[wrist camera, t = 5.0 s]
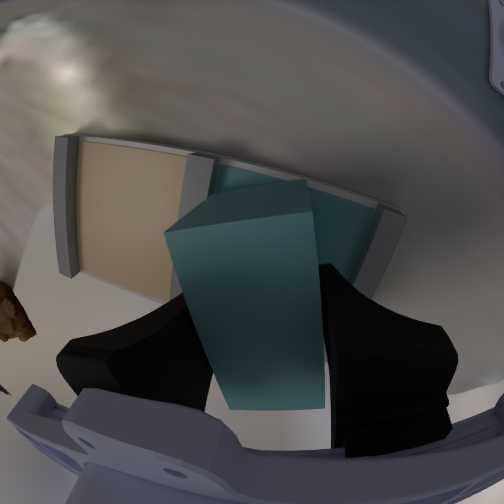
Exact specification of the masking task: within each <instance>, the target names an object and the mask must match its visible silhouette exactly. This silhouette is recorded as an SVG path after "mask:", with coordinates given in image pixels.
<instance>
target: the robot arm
mask: <svg viewBox="0 0 504 504" xmlns="http://www.w3.org/2000/svg"><path fill="white" fill-rule="evenodd" d="M488 3H489V15H490V67H489V81H490V84H491V85H492V87H493V88H494V89H496V90H497V91H498V92H499V93H501V94H502V95H503V96H504V1H502V0H488ZM501 84H502V86H503V88H502V86H501ZM318 269H319V280H320V293H321V306H322V322H323V338H324V344H325V349H326V355H327V360H328V366H329V374H330V398H331V449H321V450H300V451H268V450H267V451H266V450H256V449H251V448H245V447H242V446H241V444H240V442H239V440H238V438H237V436H236V435H235V434H234V433H233V432H232V430H230V429H229V428H228V427H227V426H226V425H225V424H224V423H223V422H222V421H221V420H219V419H217V418H215V417H213V416H211V415H209V414H207V413H205V406H206V401H207V396H208V392H209V387H210V383H211V379H212V375H213V370H212V368H211V366H210V363H209V361H208V358H207V356H206V353H205V351H204V348H203V346H202V343H201V341H200V338H199V336H198V333H197V331H196V328H195V325H194V323H193V320H192V317H191V315H190V312H189V309H188V306H187V304H186V301H185V298H184V295H183V292H182V293H181V294H179V295H178V296H176V297H175V298H173V299H172V300H170V301H169V302H167V303H166V304H164V305H162V306H161V307H159V308H158V309H156V310H154V311H152V312H150V313H149V314H147V315H145V316H143V317H141V318H139V319H136V320H134V321H132V322H129V323H127V324H125V325H122V326H120V327H117V328H114V329H111V330H108V331H105V332H102V333H98V334H94V335H90V336H85V337H80V338H75V339H72V340H70V341H69V342H68V343H67V345H66V346H65V347H64V348H63V349H62V350H61V352H60V353H59V354H58V355H57V357H56V362H57V367H58V369H59V371H60V373H61V374H62V376H63V377H64V379H65V380H66V382H67V383H68V384H69V386H70V387H71V388H72V389H73V391H74V392H75V393H76V394H77V396H78V397H77V398H76V400H75V401H74V403H73V404H72V406H71V407H70V409H69V408H67V407H64V406H62V405H60V404H58V403H57V402H56V400H55V399H54V398H53V397H52V395H51V394H50V393H49V392H47V391H46V390H45V389H43V388H41V387H38V386H36V385H34V384H32V385H31V386H30V388H29V389H28V390H27V391H26V393H25V394H24V395H23V397H22V398H21V399H20V401H19V402H18V403H17V405H16V406H15V407H14V408H13V410H12V411H11V412H10V414H9V415H8V416H7V420H8V421H9V422H10V423H11V424H12V425H13V426H14V427H15V428H16V429H17V430H18V431H19V432H20V433H21V434H22V435H23V436H24V437H25V438H26V439H27V440H28V441H29V442H31V443H32V444H33V445H34V446H35V447H36V448H37V449H38V450H40V451H41V452H42V453H44V454H45V455H46V456H48V457H49V458H51V459H52V460H54V461H55V462H57V463H58V464H60V465H61V466H63V467H64V468H66V469H67V470H69V471H71V472H72V473H74V474H76V475H77V476H79V478H78V480H77V482H76V484H75V485H74V488H73V489H72V491H71V493H70V495H69V497H68V499H67V501H66V503H65V504H455V503H457V502H459V501H462V500H464V499H466V498H468V497H470V496H472V495H474V494H476V493H478V492H480V491H482V490H484V489H486V488H488V487H490V486H492V485H493V484H495V483H497V482H499V481H500V480H502V479H504V394H503V395H502V396H501V397H500V398H499V400H498V402H497V403H496V405H495V407H494V408H492V409H489V410H487V411H485V412H482V413H480V414H477V415H475V416H473V417H470V418H467V419H465V420H462V421H459V422H457V423H454V424H451V421H450V417H449V414H448V411H447V408H446V407H448V405H449V400H448V397H447V394H446V391H447V389H448V387H449V385H450V383H451V380H452V378H453V376H454V373H455V371H456V368H457V364H458V353H457V352H456V350H455V348H454V346H453V344H452V342H451V340H450V338H449V336H448V335H447V334H446V332H445V331H444V329H443V328H442V326H439V325H435V324H430V323H426V322H422V321H418V320H415V319H412V318H409V317H406V316H403V315H400V314H398V313H395V312H393V311H391V310H389V309H387V308H385V307H383V306H381V305H379V304H377V303H376V302H374V301H373V300H371V299H369V298H368V297H366V296H365V295H363V294H362V293H361V292H360V291H358V290H357V289H356V288H355V287H354V286H353V285H351V284H350V283H349V282H348V281H347V280H346V279H345V278H344V277H343V276H342V275H341V274H340V272H339V271H338V270H337V269H336V268H335V267H334V265H333V264H331V263H327V264H318Z"/></svg>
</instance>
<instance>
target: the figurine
mask: <svg viewBox="0 0 504 504" xmlns="http://www.w3.org/2000/svg"><path fill="white" fill-rule="evenodd" d="M34 335H36V331H35V328H34V327H33V325H32V323H31V321H30V320H29V318H28V316H27V314H26V312H25V310H24V308H23V307H22V305H21V304H20V302H19V300H18V299H17V297H16V296H15V294H14V292H13V291H12V289H11V288H10V287H9V286H7V285H6V284H5V283H2V282H0V339H1V340H2V341H4V342H6V341H8V339H11V338H16V337H18V338H19V339H20V340H21V341H27V340H28V339H29V338H31V337H33V336H34Z"/></svg>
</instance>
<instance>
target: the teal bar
mask: <svg viewBox="0 0 504 504" xmlns="http://www.w3.org/2000/svg"><path fill="white" fill-rule="evenodd" d="M163 233H164V237H165V240H166V243H167V246H168V250H169V253H170V256H171V259H172V262H173V265H174V268H175V271H176V275H177V278H178V280H179V283H180V286H181V289H182V292H183V295H184V298H185V301H186V304H187V306H188V309H189V312H190V315H191V317H192V320H193V323H194V325H195V328H196V331H197V333H198V336H199V338H200V341H201V343H202V346H203V348H204V351H205V353H206V356H207V358H208V361H209V363H210V366H211V368H212V370H213V373H214V375H215V377H216V380H217V382H218V384H219V387H220V389H221V391H222V393H223V396H224V398H225V400H226V402H227V404H228V407H229V409H232V410H305V409H321V408H325V372H324V371H325V370H324V342H323V322H322V306H321V293H320V280H319V269H318V258H317V248H316V239H315V230H314V222H313V214H312V208H311V202H310V197H309V192H308V187H307V182H306V179H300V180H293V181H285V182H278V183H271V184H264V185H258V186H252V187H245V188H239V189H234V190H228V191H222V192H217V193H213V194H212V195H210V196H209V197H208V198H207V199H205V200H204V201H203V202H201V203H200V204H199V205H197V206H196V207H195V208H194V209H192V210H191V211H190V212H188V213H187V214H186V215H185V216H183V217H182V218H181V219H180V220H178V221H177V222H176V223H175V224H173V225H172V226H171V227H170V228H168V229H167V230H166V231H165V232H163Z"/></svg>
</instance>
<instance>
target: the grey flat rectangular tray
mask: <svg viewBox="0 0 504 504" xmlns="http://www.w3.org/2000/svg"><path fill="white" fill-rule="evenodd" d="M300 179H306V182H307V187H308V192H309V197H310V202H311V208H312V214H313V222H314V230H315V239H316V248H317V258H318V264H327V263H331V264H333V265H334V267H335V268H336V269H337V270H338V271H339V272H340V274H341V275H342V276H343V277H344V278H345V279H346V280H347V281H348V282H349V283H350V284H351V285H353V286H354V287H355V288H356V289H357V290H358V291H360V292H361V293H362V294H363V295H365V296H366V297H368V298H369V299H371V298H372V296H373V294H374V292H375V290H376V288H377V286H378V284H379V282H380V280H381V278H382V276H383V274H384V272H385V270H386V267H387V265H388V263H389V261H390V259H391V256H392V254H393V252H394V249H395V247H396V245H397V242H398V240H399V238H400V235H401V233H402V230H403V228H404V225H405V223H406V220H407V217H406V216H405V213H404V212H403V211H402V210H401V209H400V208H398V207H396V206H393V205H391V204H388V203H385V202H383V201H380V200H377V199H374V198H372V197H369V196H366V195H363V194H360V193H357V192H355V191H352V190H349V189H346V188H343V187H340V186H336V185H333V184H330V183H327V182H324V181H321V180H317V179H314V178H311V177H307V176H304V175H300V174H297V173H293V172H290V171H286V170H283V169H279V168H275V167H271V166H267V165H263V164H260V163H255V162H251V161H247V160H243V159H239V158H234V157H230V156H225V155H221V154H216V153H211V152H206V151H201V150H196V149H191V148H186V147H180V146H174V145H168V144H162V143H156V142H149V141H142V140H135V139H128V138H119V137H111V136H101V135H90V134H78V133H72V134H65V135H63V136H56V137H55V145H54V162H53V211H54V227H55V239H56V249H57V258H58V265H59V272H60V273H61V274H63V275H65V276H67V277H69V278H71V279H72V278H73V277H74V276H75V275H77V274H78V273H79V272H82V273H84V274H87V275H89V276H91V277H94V278H96V279H99V280H101V281H103V282H106V283H108V284H111V285H113V286H116V287H119V288H121V289H123V290H126V291H129V292H132V293H134V294H137V295H139V296H142V297H145V298H148V299H150V300H153V301H156V302H158V303H162V304H166V303H167V302H169V301H170V300H172V299H173V298H175V297H176V296H178V295H179V294H181V293H182V289H181V286H180V283H179V280H178V278H177V275H176V271H175V268H174V265H173V262H172V259H171V256H170V253H169V250H168V246H167V243H166V240H165V237H164V233H163V232H165V231H166V230H167V229H168V228H170V227H171V226H172V225H173V224H175V223H176V222H177V221H178V220H180V219H181V218H182V217H183V216H185V215H186V214H187V213H188V212H190V211H191V210H192V209H194V208H195V207H196V206H197V205H199V204H200V203H201V202H203V201H204V200H205V199H207V198H208V197H209V196H210V195H212V194H213V193H217V192H222V191H228V190H234V189H239V188H245V187H252V186H258V185H264V184H271V183H278V182H285V181H293V180H300ZM323 342H324V338H323ZM324 361H325V362H328V360H327V355H326V349H325V344H324Z"/></svg>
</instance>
